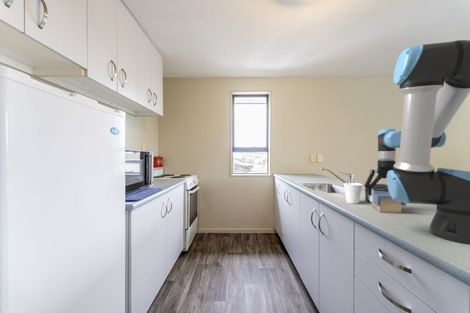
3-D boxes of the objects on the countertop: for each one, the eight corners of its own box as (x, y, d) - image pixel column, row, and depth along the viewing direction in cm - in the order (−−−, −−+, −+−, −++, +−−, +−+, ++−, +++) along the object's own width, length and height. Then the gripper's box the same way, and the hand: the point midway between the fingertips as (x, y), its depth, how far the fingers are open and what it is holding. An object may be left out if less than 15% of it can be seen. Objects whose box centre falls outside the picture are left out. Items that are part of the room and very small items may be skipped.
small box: (383, 201, 136) (383, 183, 136) (389, 203, 129) (389, 185, 129) (364, 200, 137) (364, 183, 137) (369, 203, 130) (370, 184, 130)
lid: (406, 206, 107) (406, 196, 107) (377, 205, 110) (377, 195, 110) (393, 200, 120) (393, 191, 120) (368, 199, 123) (368, 190, 123)
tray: (401, 213, 108) (401, 198, 108) (380, 212, 110) (380, 197, 110) (390, 207, 120) (391, 194, 120) (371, 206, 122) (371, 193, 122)
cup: (366, 204, 127) (366, 184, 127) (351, 205, 124) (352, 185, 124) (353, 200, 137) (353, 182, 136) (339, 201, 134) (339, 183, 134)
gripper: (410, 159, 115) (409, 202, 116) (357, 159, 121) (357, 199, 122) (418, 160, 108) (417, 205, 108) (361, 159, 114) (361, 202, 114)
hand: (385, 202), depth 115 cm, fingers closed on lid, 12 cm apart
